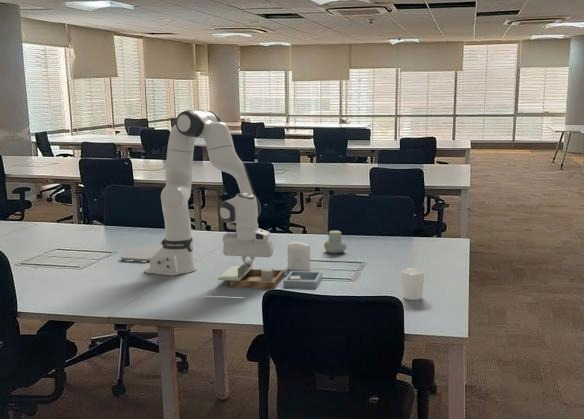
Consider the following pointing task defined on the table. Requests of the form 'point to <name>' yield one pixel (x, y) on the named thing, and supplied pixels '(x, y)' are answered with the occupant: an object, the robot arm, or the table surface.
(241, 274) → the lid
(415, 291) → the white cup
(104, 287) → the table surface
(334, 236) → the air freshener
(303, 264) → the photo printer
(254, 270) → the wooden tray
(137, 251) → the tablet
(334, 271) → the table surface
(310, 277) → the bin
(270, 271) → the beige small block
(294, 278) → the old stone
